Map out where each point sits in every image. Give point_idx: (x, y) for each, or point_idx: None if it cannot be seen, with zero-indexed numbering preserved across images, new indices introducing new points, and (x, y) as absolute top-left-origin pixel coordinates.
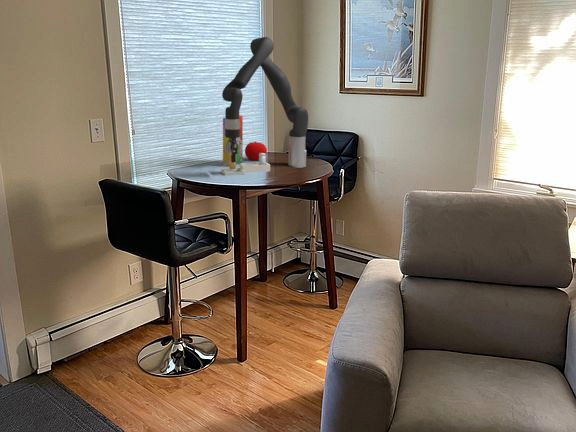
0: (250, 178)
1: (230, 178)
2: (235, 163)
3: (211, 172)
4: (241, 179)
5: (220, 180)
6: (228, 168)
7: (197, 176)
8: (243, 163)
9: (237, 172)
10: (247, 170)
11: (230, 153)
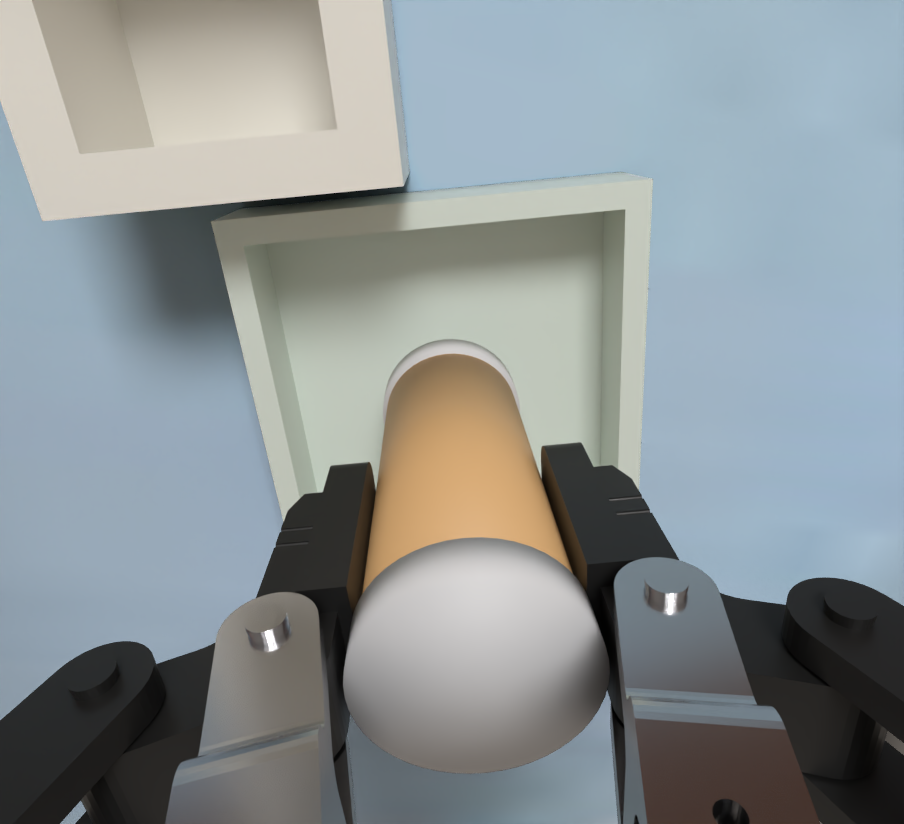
0: (826, 71)
1: (707, 431)
2: (494, 410)
3: None
4: (844, 267)
5: (792, 568)
6: (270, 456)
7: (481, 774)
8: (36, 101)
9: (643, 329)
10: (393, 48)
11: (560, 745)
